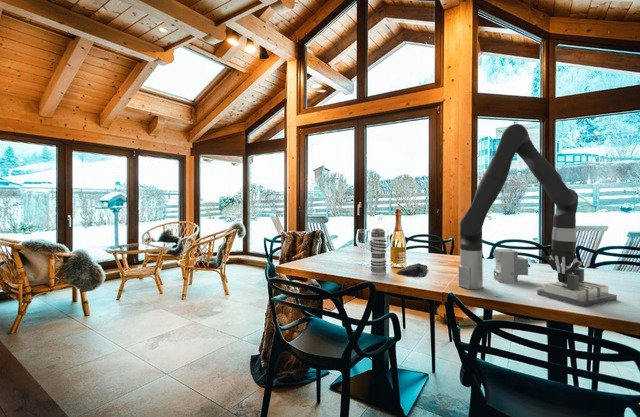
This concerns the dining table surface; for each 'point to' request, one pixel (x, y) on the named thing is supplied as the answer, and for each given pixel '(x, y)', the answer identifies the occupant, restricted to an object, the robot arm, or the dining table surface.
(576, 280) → the block
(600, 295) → the breaker panel
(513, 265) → the circuit breaker
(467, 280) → the robot arm
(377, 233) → the grey ringed tower
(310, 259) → the dining table surface
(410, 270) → the dark slate chunk
